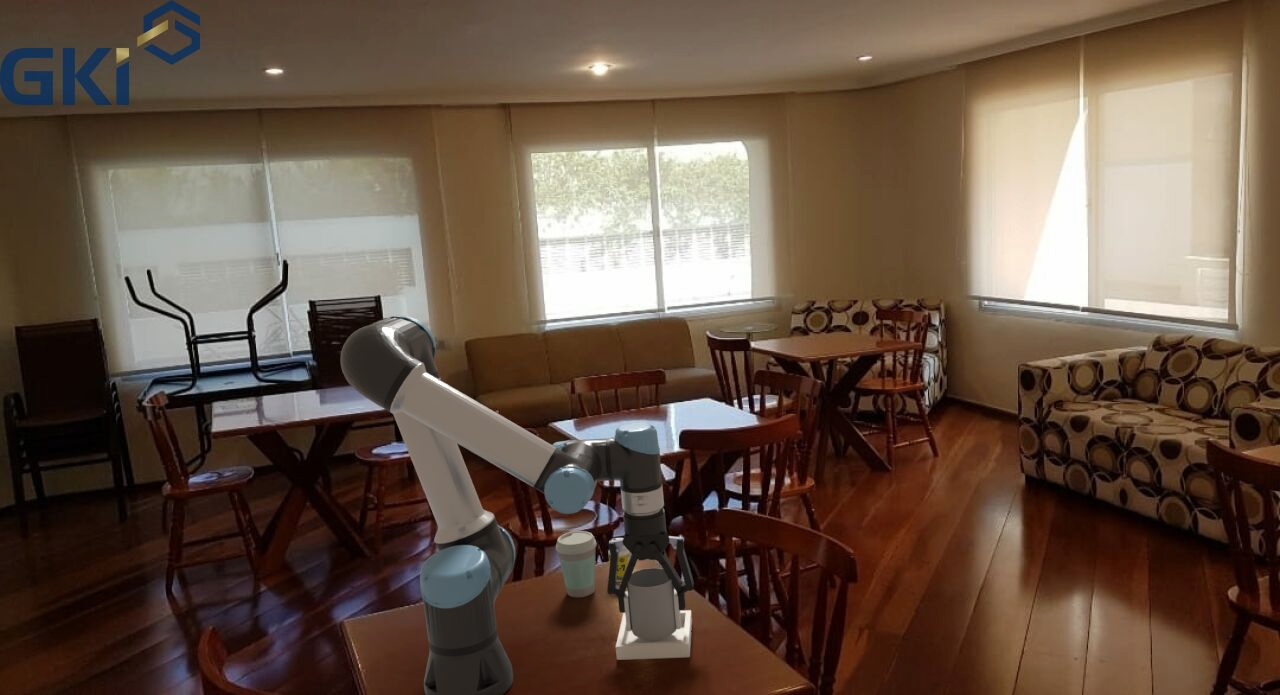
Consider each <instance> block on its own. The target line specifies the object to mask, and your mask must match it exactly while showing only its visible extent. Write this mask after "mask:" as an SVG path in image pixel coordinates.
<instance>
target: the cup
mask: <svg viewBox="0 0 1280 695" xmlns="http://www.w3.org/2000/svg"><path fill="white" fill-rule="evenodd" d="M674 589H675V588H674V586H673V585H672V582H671V579H670V580H669V578H668V576H667V575H666V573H665V571H664V569H663V568H661V567H660V568H659V567H650V568H649V567H647V568H641V569H639V570H635V571H633V572H632V575H631V577H630V580H629V582H628V585H627V588H626V590H627V591H628V598H629V608H630V619H631V630H632V632H633V634H634V635H635V636H637V637H639V638H641V639H648V640H653V639H661V638H664V637H667V636H670V635H671V634H673V633H674V632H675V631H676V620H675V608H674V597H673V595H674Z"/></svg>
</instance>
